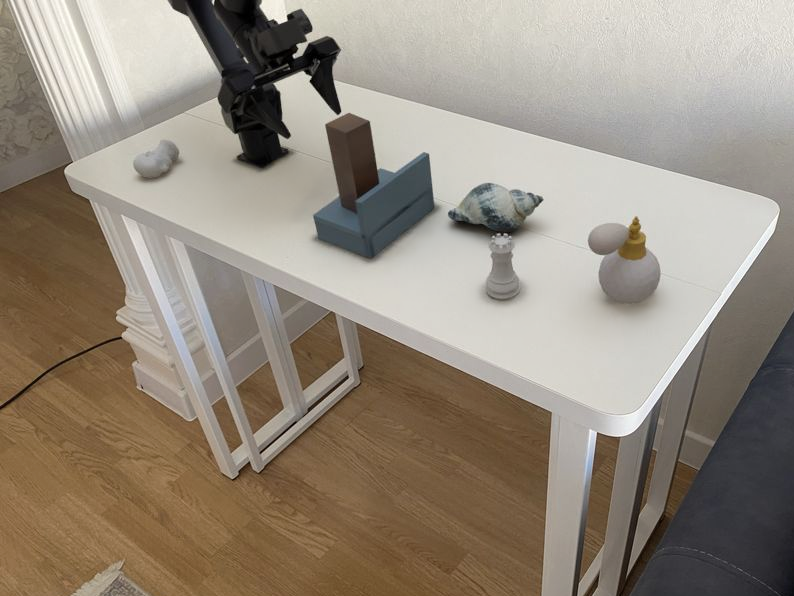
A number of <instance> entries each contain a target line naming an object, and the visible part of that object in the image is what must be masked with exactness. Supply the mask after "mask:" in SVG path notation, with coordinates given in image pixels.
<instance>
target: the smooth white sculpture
mask: <svg viewBox="0 0 794 596" xmlns="http://www.w3.org/2000/svg"><path fill="white" fill-rule="evenodd" d="M179 156H180V150H179V147H178V146H177V145H176V144H175V142H173V141H172V140H170V139H161V140H160V141H159V144H158V146H157V147H156V148H155V149H153V150H151V151H150V150H149V151H148V150H147V151H146V152H145V153H141V154H139V155H137V156H136V157H135V158H134V159H133V162H132V165H133V169H134V170H135V172H137V174H139V175H140V176H142V177H144V178H147V179H148V178H149V179H154V178H159V177H160V176H161V175H162V174H163V173H166V172H168V171H169V170H170V167H171V166H172V164H173V162H175V161H177V160H178V159H179Z"/></svg>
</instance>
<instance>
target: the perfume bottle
mask: <svg viewBox="0 0 794 596" xmlns="http://www.w3.org/2000/svg"><path fill="white" fill-rule="evenodd" d="M641 229H642V224H641V223H640V219H639V217H638V215H637V216H634V218H633V219H632V221H631V223H630V224H629V226H628V227H627V226H626V225H624V224H621V223H619V222H606V223H602V224H599V225H598V226H595V227H594V228H593V229H592V230H591V231H590V233H588V238H587V244H588V247H589V249H590V250H591V252H593V253H594V254H596V255H598V256H603V258H602V260H601V262H600V264H599V269H598V282H599V285H600V288H601V289H602V291H603V293H604V294H605V295H606V296H607V297H608V298H610V299H611V300H612V301H613V302H616V303H620V304H625V305H634V304H639V303H641V302H643V301H645V300H647V299H649V298H650V297H651V296H652V295H653V294H654V293H655V291H656V290H657V288H658V286H659V283H660V280H661V275H662V274H661V265H660V262H659V260H658V258H657V256H656V255H655V254H654V253H653V252H652V251H651V250H650V249H648V247H646V241H647V235H646V234H645V233H644V232H643V231H640V230H641Z"/></svg>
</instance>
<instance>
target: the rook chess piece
mask: <svg viewBox="0 0 794 596" xmlns="http://www.w3.org/2000/svg"><path fill="white" fill-rule="evenodd" d="M515 247H516V244H515V242H514V241H513V239H512V235H509V234H508V233H506V232H503V236H502V235H501V232H499V233H495V235H492V236H491V239H490V242H489V243H488V247H487V248H488V249H489V250H490V251H491V253H490V259H491V260H492V261H491V262H492V264H491V270H490V272H489V273H488V275H487V277H486V280H485V291H486V293H487V294H488V295H489V296H491V297H492V298H493V299H496V300H509V299H512V298H514V297H515V296H516V295H517V294H518V293H519V292H520V290H521V285H520V278H519V276H518V275H517V273H516V271H515V270H514V266H513V258H514V253H513V250H514V249H515Z"/></svg>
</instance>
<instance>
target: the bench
mask: <svg viewBox="0 0 794 596" xmlns="http://www.w3.org/2000/svg"><path fill="white" fill-rule="evenodd" d="M430 159H431V158H430V153H429V152H426V151H423V152H421V153H420V154H419V155H417V156H416V157H415V158H414V159H412V160H410V161H408V162H407V163H406V164H405V165H403V166H402V167H400V168H399V169H398V170H397V171H395V172H393V171H390V170H388V169H384V168H382V167H381V168H377V170H378V177H379V183H380V184H378V185H377V186H375V187H374V188H373V189H371V190H370V191H369V192H367V193H366V194H364V195H363V196H362V197H360V198H359V199H357V200H356V201H355V203H356V209H357V214H356V213H354V212H352V211H350V210H348V209H346V208H344V207H342V206H341V201H340V196H338V197H336V198H335V199H334V200H332V201H330V202H329V203H328V204H327V205H325V206H324V207H322V208H321V209H319V210H318V211H317V212H315V213H313V214H312V217H313V221H314V225H315V230H316V236H317V238H318V239H319V240H321V241H324V242H327V243H329V244H332V245H334V246H336V247H339V248H341V249H345V250H347V251H349V252H352V253H354V254H357V255H359V256H363V257H365V258H368V259H370V260H371V259H373V258H374V257H375V256H376V255H378V254H379V253H380V252H382V251H383V250H385V248H386V247H387V246H389V245H390V244H392V243H393V242H394V241H395V240H396V239H398V238H399V237H401V235H403V234H404V233H405V232H406V231H408V230H409V229H410V228H411V227H413V226H414V225H415V224H416V223H418V222H419V221H420V220H421V219H423V218H424V217H425V216H426V215H427V214H429V213H430V212H431V211H433V210H434V209H435V199H434V197H435V196H434V189H433V179H432V169H431V168H432V167H431V160H430Z"/></svg>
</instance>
